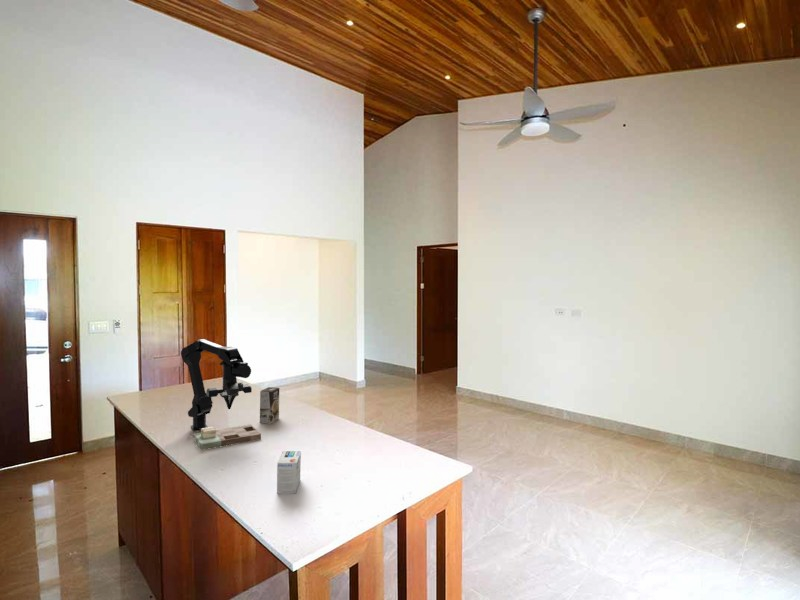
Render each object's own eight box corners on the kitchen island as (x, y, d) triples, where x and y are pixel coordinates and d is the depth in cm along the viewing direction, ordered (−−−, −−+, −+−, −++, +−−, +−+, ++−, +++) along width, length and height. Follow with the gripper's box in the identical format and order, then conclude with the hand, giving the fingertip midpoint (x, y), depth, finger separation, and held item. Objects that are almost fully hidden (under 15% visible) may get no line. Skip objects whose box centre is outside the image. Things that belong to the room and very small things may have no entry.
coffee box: (271, 423, 222) (271, 391, 222) (259, 422, 224) (259, 390, 223) (279, 418, 231) (280, 387, 231) (268, 417, 233) (268, 386, 232)
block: (201, 435, 197) (201, 428, 197) (213, 433, 200) (213, 426, 200) (203, 438, 193) (203, 431, 193) (216, 436, 196) (216, 429, 196)
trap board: (194, 439, 199) (194, 433, 199) (250, 429, 213) (251, 424, 213) (201, 450, 187) (201, 444, 187) (260, 439, 201) (260, 433, 201)
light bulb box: (281, 479, 162) (282, 450, 161) (300, 479, 162) (301, 450, 162) (276, 494, 151) (276, 462, 150) (296, 493, 152) (297, 462, 151)
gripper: (211, 381, 193) (210, 416, 194) (255, 377, 203) (254, 410, 204) (206, 375, 202) (206, 410, 203) (248, 372, 212) (248, 404, 213)
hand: (229, 409), depth 205 cm, fingers closed
